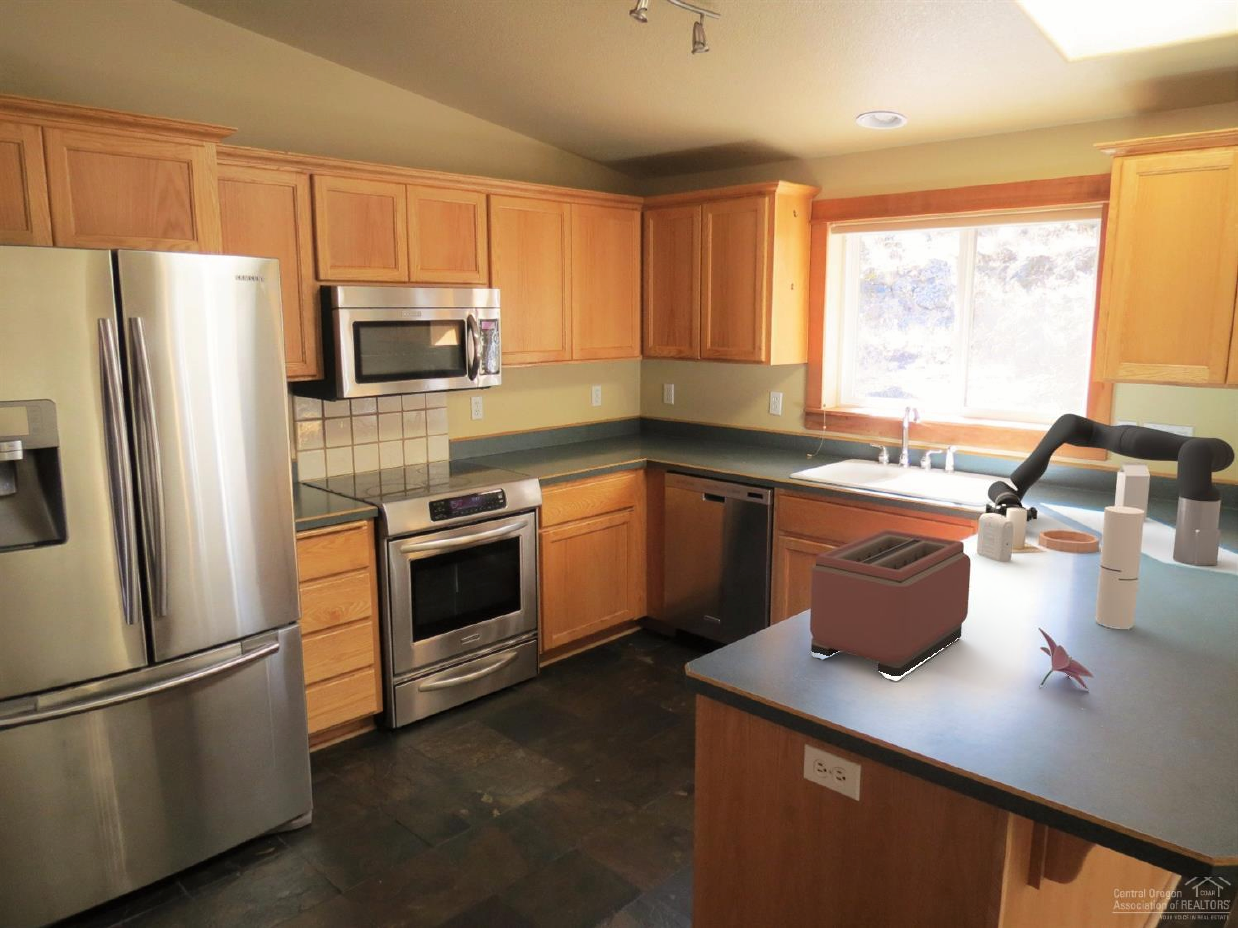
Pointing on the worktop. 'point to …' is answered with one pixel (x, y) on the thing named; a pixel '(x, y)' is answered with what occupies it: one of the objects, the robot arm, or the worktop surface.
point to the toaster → (889, 598)
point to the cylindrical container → (1119, 566)
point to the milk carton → (1133, 486)
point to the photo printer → (995, 537)
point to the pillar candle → (1018, 526)
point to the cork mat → (1027, 549)
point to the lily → (1063, 661)
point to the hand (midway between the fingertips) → (1012, 516)
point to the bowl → (1068, 541)
